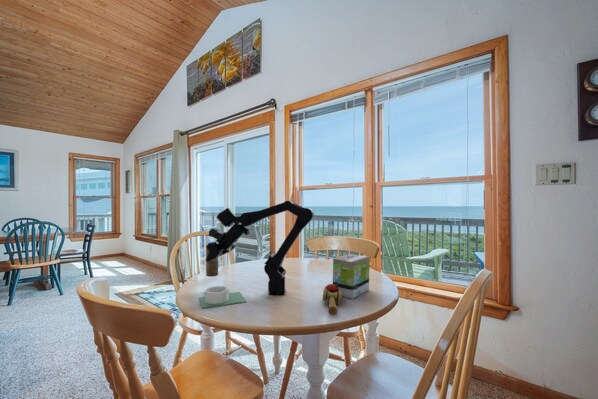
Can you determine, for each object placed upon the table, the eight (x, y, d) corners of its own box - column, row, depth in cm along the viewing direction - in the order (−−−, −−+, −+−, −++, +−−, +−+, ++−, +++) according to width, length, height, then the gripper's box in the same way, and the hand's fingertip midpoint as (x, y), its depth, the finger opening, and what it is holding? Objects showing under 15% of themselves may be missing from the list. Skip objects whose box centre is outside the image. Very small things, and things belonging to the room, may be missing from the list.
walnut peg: (219, 273, 125) (219, 244, 126) (215, 276, 120) (215, 246, 121) (208, 273, 126) (208, 244, 126) (204, 276, 121) (204, 246, 121)
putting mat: (239, 292, 118) (239, 282, 118) (246, 302, 107) (246, 290, 107) (199, 298, 112) (199, 287, 112) (201, 308, 101) (201, 296, 101)
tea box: (354, 299, 110) (354, 261, 110) (331, 294, 116) (331, 258, 116) (369, 290, 122) (369, 255, 122) (348, 285, 128) (348, 253, 128)
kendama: (346, 318, 95) (342, 294, 113) (343, 301, 95) (339, 279, 112) (324, 321, 96) (323, 296, 114) (320, 304, 95) (320, 282, 113)
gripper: (229, 220, 132) (207, 243, 134) (210, 223, 113) (185, 250, 115) (245, 237, 131) (223, 260, 132) (229, 243, 112) (203, 270, 114)
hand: (209, 259), depth 123 cm, fingers closed on walnut peg, 5 cm apart
